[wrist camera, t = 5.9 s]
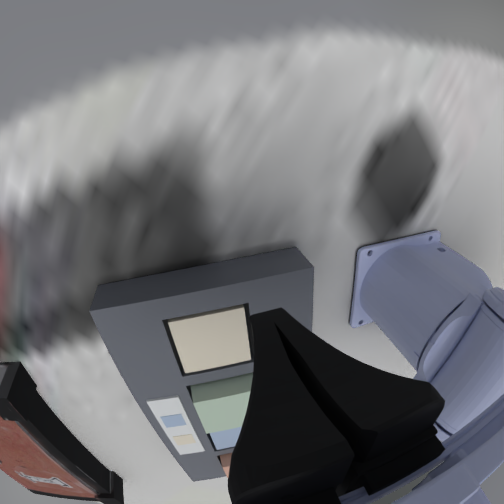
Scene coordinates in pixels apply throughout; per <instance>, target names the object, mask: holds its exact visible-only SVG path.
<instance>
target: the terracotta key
mask: <svg viewBox="0 0 504 504" xmlns="http://www.w3.org/2000/svg"><path fill="white" fill-rule="evenodd" d="M231 455H232V453H228V454H223V455H220V459H221V463H222V468H223V470H224V472H225V474H226V476H227V477H228V476H229V468H230V462H231Z"/></svg>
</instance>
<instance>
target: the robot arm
mask: <svg viewBox="0 0 504 504" xmlns="http://www.w3.org/2000/svg"><path fill="white" fill-rule="evenodd" d="M440 237H441V233H440V232H439V231H438V230H435V231H431V232H426V233H422V234H418V235H413V236H409V237H405V238H400V239H396V240H391V241H387V242H383V243H378V244H374V245H369V246H365V247H362V248H360V249H359V250H358V253H357V262H356V273H355V283H354V292H353V301H352V309H351V317H350V326H351V327H352V328H356V327H359V326H362V325H365V324H368V323H371V322H375V323H376V324H377V326H378V327H379V328H380V329H381V330H382V331H383V332H384V334H385V335H386V336H387V337H388V338H389V339H390V341H391V342H392V343H393V344H394V345H395V346H396V347H397V349H398V350H399V351H400V352H401V353H402V354H403V356H404V357H405V358H406V359H407V360H408V362H409V363H410V364H411V365H412V366H413V367H414V369H415V370H416V371H417V374H416V375H415V377H414V378H413V379H411V378H406V377H402V376H398V375H395V374H392V373H388V372H385V371H382V370H380V369H377V368H375V367H372V366H370V365H367V364H364V363H362V362H360V361H358V360H356V359H354V358H352V357H350V356H348V355H346V354H344V353H343V352H341V351H339V350H338V349H336V348H334V347H333V346H331V345H330V344H328V343H326V342H325V341H324V340H322V339H321V338H319V337H318V336H316V335H315V334H314V333H312V332H311V331H310V330H308V329H307V328H306V327H305V326H303V325H302V324H301V323H300V322H298V321H297V320H296V319H295V318H294V317H292V316H291V315H290V314H289V313H288V312H287V311H286V310H285V309H283V308H282V307H280V308H277V309H273V310H269V311H265V312H261V313H256V314H252V315H251V316H250V317H249V322H250V329H251V335H252V342H253V348H254V367H253V378H252V385H251V392H250V397H249V402H248V406H247V411H246V414H245V418H244V421H243V425H242V428H241V431H240V434H239V437H238V440H237V442H236V445H235V448H234V450H233V453H232V455H231V462H230V468H229V476H228V491H229V495H230V498H231V502H232V504H370V503H372V502H374V501H376V500H378V499H380V498H382V497H384V496H386V495H388V494H390V493H392V492H394V491H396V490H398V489H399V488H401V487H403V486H405V485H406V484H408V483H410V482H412V481H413V480H415V479H416V478H418V477H420V476H422V475H423V474H425V473H426V472H428V471H429V470H431V469H433V468H434V467H435V466H437V465H438V464H440V463H441V464H440V465H439V466H438V467H436V468H435V469H434V470H432V471H431V472H430V473H429V474H428V475H427V477H426V478H425V479H424V480H423V481H421V482H420V483H419V484H418V485H417V486H415V487H414V488H413V489H412V492H410V493H408V494H406V495H405V496H403V497H401V498H399V499H398V500H396V501H394V502H392V503H390V504H491V503H490V501H489V500H488V498H487V497H486V495H485V493H484V492H483V491H482V489H481V488H480V484H481V483H482V482H483V481H485V480H486V479H487V478H488V477H489V476H490V475H491V474H492V473H493V472H494V471H495V470H496V469H497V468H498V467H499V466H500V465H501V464H502V463H503V462H504V290H503V289H501V288H499V287H495V288H493V287H492V284H491V282H490V280H489V278H488V276H487V275H486V273H485V272H484V271H483V270H482V269H481V268H479V267H478V266H476V265H475V264H473V263H472V262H470V261H469V260H468V259H466V258H464V257H463V256H461V255H460V254H458V253H457V252H455V251H454V250H452V249H451V248H449V247H447V246H446V245H444V244H443V243H441V242H440ZM368 251H370V252H369V253H368ZM367 253H368V254H367ZM439 440H440V441H442V443H441V442H440V441H439ZM444 460H445V461H444ZM443 461H444V462H443ZM442 462H443V463H442Z"/></svg>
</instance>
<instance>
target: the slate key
mask: <svg viewBox="0 0 504 504" xmlns="http://www.w3.org/2000/svg"><path fill="white" fill-rule="evenodd" d="M241 428H242V427H237V428H233V429H228V430H223V431H218V432H213V433H210V436H211V438H212V440H213V442H214V445H215V447H216V449H217V450H219V449H224V448H229V447H234V446H235V445H236V442H237V440H238V437H239V434H240V431H241Z"/></svg>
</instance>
